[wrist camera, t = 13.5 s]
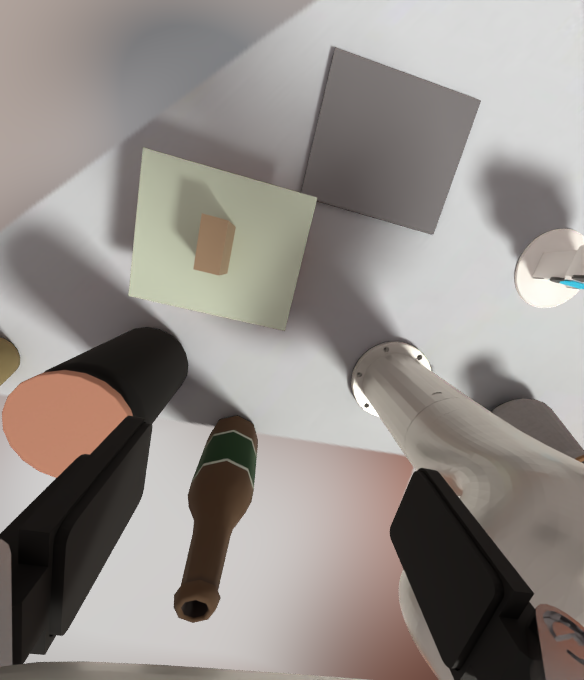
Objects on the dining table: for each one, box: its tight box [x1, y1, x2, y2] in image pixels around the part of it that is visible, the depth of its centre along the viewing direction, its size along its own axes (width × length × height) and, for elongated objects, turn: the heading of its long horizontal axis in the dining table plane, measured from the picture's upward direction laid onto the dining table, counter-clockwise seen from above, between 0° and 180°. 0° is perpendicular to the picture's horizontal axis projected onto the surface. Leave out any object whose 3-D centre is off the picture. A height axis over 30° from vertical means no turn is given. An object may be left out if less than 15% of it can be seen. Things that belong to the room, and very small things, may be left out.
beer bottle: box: [174, 415, 258, 623], centre depth 34 cm, size 8×8×24 cm
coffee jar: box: [2, 327, 188, 478], centre depth 33 cm, size 11×11×18 cm
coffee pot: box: [492, 398, 584, 464], centre depth 42 cm, size 21×12×15 cm, turn 166°
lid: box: [128, 148, 317, 331], centre depth 29 cm, size 18×15×6 cm
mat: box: [301, 48, 481, 234], centre depth 36 cm, size 19×16×1 cm
